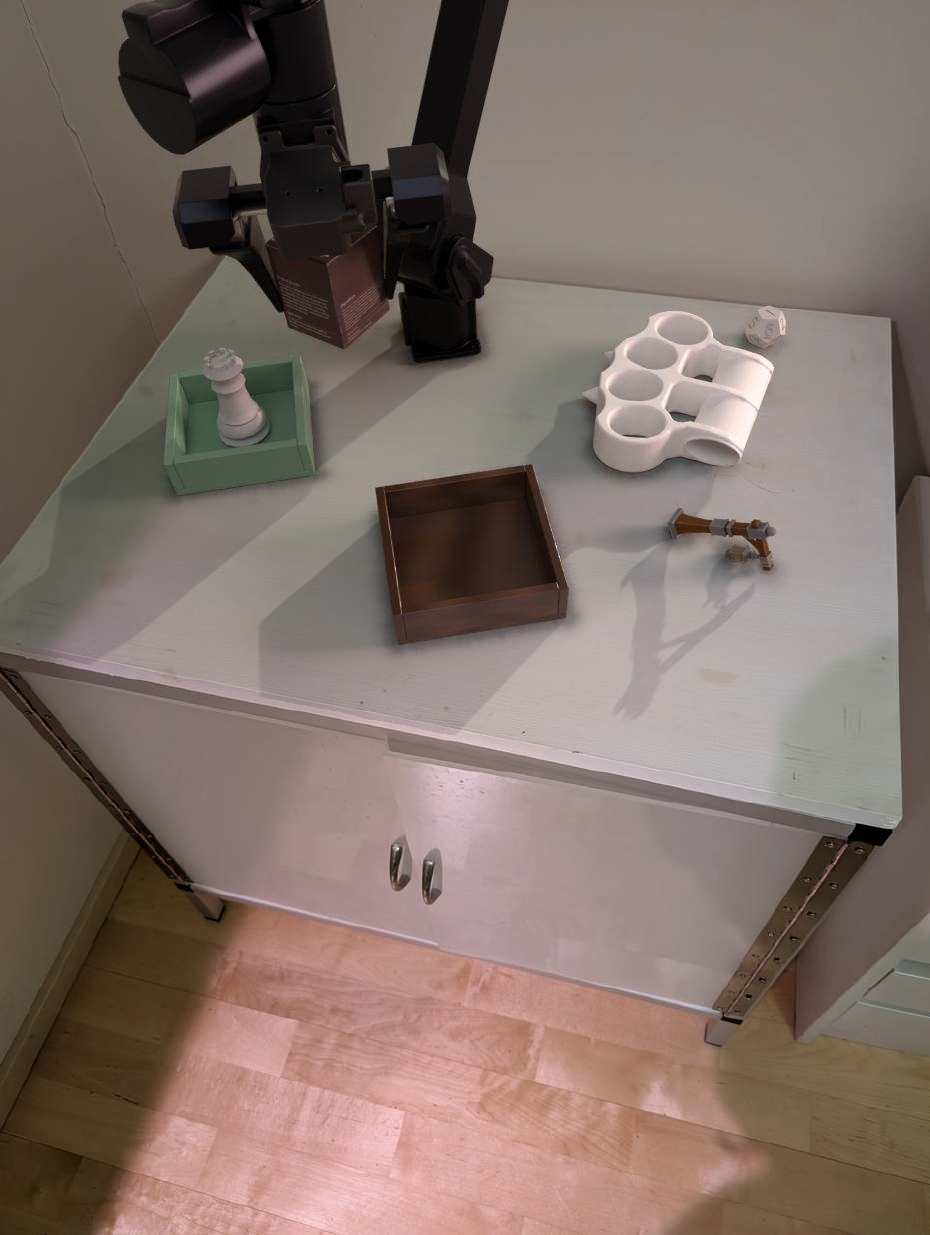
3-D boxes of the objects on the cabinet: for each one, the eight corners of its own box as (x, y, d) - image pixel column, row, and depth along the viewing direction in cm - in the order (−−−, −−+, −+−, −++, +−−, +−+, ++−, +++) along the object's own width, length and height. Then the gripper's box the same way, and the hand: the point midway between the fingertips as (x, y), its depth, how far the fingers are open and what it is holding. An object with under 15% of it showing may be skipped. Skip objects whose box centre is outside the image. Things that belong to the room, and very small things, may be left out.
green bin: (308, 386, 77) (300, 354, 74) (315, 475, 71) (306, 443, 68) (182, 405, 77) (169, 373, 74) (177, 495, 70) (162, 464, 67)
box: (392, 312, 67) (380, 224, 61) (344, 354, 64) (327, 265, 58) (334, 289, 69) (316, 202, 63) (285, 328, 66) (262, 241, 60)
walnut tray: (532, 495, 68) (532, 463, 65) (566, 617, 61) (569, 588, 58) (381, 518, 67) (374, 487, 64) (398, 644, 60) (392, 616, 57)
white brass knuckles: (725, 500, 66) (553, 453, 71) (776, 364, 76) (621, 329, 80) (734, 470, 64) (554, 423, 68) (786, 332, 73) (625, 298, 77)
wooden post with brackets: (778, 578, 61) (768, 530, 58) (679, 563, 66) (666, 519, 63) (788, 562, 61) (779, 514, 59) (690, 549, 67) (677, 504, 64)
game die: (760, 358, 76) (768, 330, 74) (733, 337, 78) (740, 308, 76) (790, 345, 77) (799, 316, 75) (763, 324, 79) (771, 296, 77)
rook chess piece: (261, 453, 72) (235, 378, 65) (212, 448, 72) (182, 373, 66) (278, 418, 74) (255, 342, 67) (231, 413, 75) (203, 337, 68)
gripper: (127, 163, 47) (209, 384, 60) (453, 127, 48) (466, 354, 61) (147, 78, 54) (217, 294, 67) (434, 47, 54) (450, 267, 67)
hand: (335, 303), depth 65 cm, fingers closed on box, 8 cm apart
